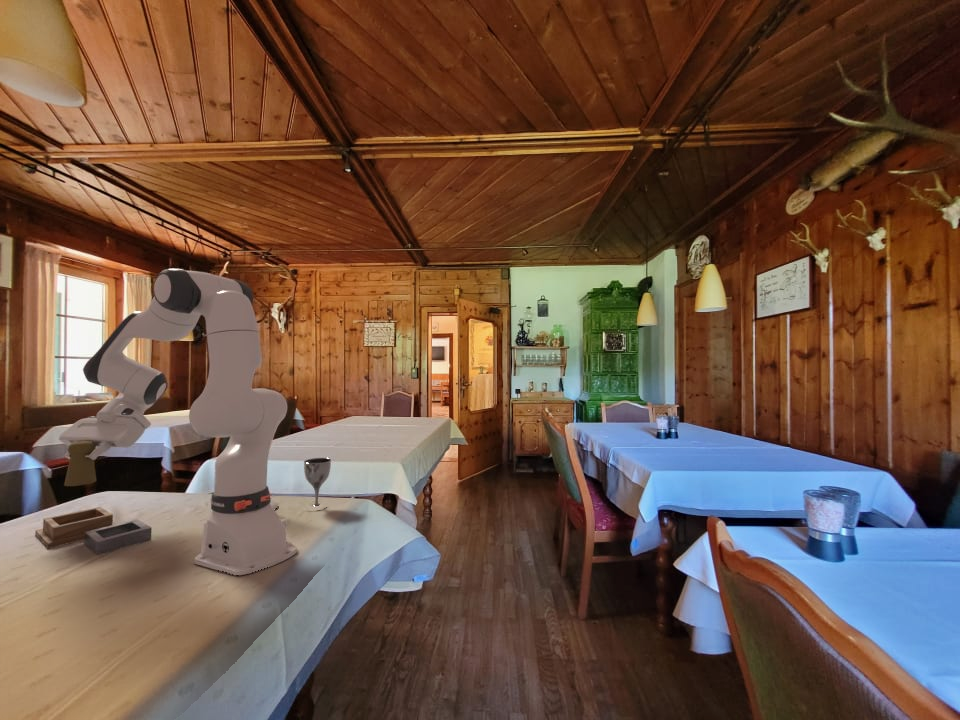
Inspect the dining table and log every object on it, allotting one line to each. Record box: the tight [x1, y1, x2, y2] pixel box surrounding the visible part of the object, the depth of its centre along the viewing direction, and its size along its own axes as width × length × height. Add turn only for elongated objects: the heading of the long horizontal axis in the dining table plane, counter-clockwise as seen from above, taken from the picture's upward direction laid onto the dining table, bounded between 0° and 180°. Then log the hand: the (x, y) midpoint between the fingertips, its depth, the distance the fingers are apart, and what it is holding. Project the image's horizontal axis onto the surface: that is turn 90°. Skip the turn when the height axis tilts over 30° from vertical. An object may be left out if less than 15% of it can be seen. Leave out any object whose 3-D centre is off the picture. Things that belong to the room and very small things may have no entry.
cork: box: [63, 441, 97, 487], centre depth 103 cm, size 6×6×11 cm
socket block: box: [83, 519, 152, 556], centre depth 97 cm, size 10×10×3 cm
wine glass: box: [303, 457, 332, 507], centre depth 123 cm, size 8×8×15 cm
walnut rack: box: [34, 506, 117, 549], centre depth 103 cm, size 14×13×4 cm
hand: (78, 458), depth 103 cm, fingers closed on cork, 5 cm apart
